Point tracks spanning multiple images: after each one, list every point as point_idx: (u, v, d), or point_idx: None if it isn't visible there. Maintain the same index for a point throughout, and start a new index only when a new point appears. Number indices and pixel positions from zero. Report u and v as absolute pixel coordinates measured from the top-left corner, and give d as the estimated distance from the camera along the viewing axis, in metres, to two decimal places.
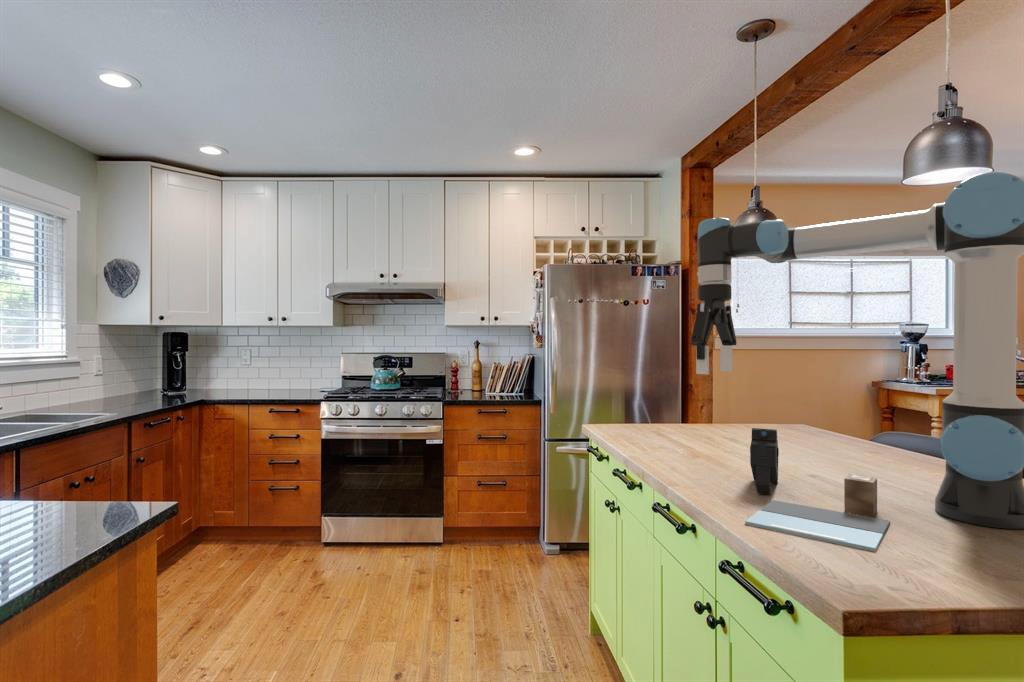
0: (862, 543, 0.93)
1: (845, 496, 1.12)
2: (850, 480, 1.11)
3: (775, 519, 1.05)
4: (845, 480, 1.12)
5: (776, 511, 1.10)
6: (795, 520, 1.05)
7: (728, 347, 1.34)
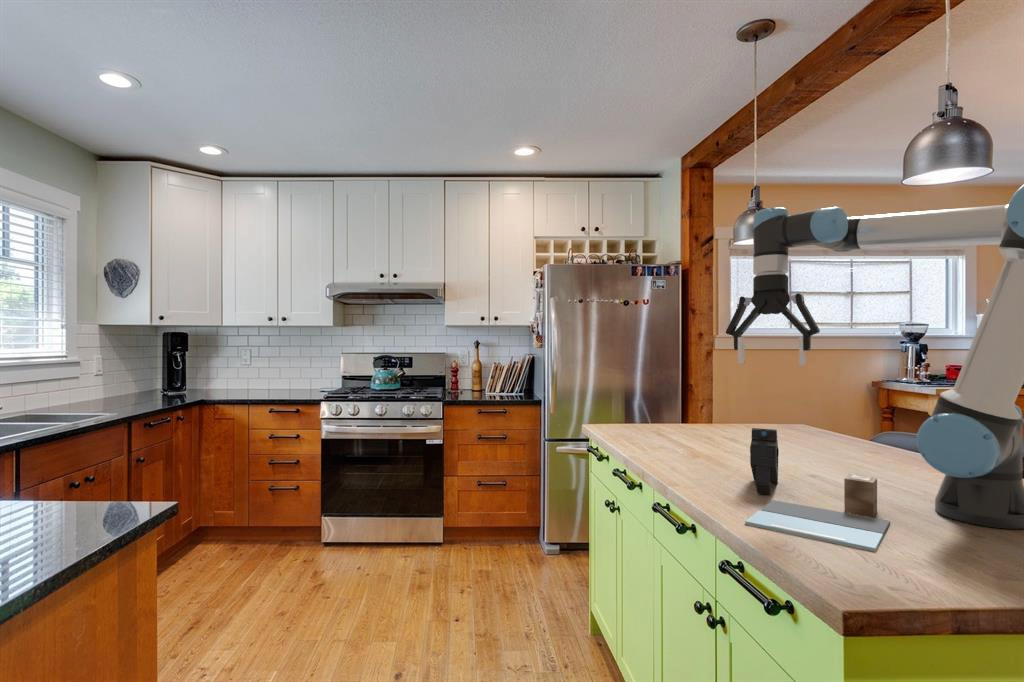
0: (862, 543, 0.93)
1: (845, 496, 1.12)
2: (850, 480, 1.11)
3: (775, 519, 1.05)
4: (845, 480, 1.12)
5: (776, 511, 1.10)
6: (795, 520, 1.05)
7: None
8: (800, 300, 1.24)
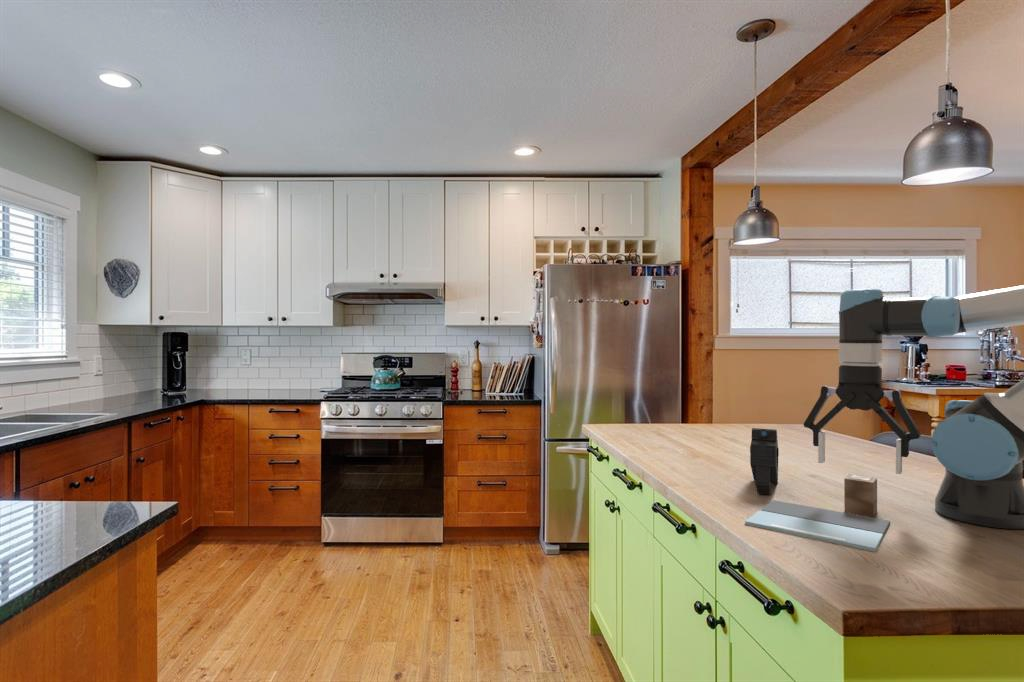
0: (862, 543, 0.93)
1: (845, 496, 1.12)
2: (850, 480, 1.11)
3: (775, 519, 1.05)
4: (845, 480, 1.12)
5: (776, 511, 1.10)
6: (795, 520, 1.05)
7: None
8: (898, 398, 1.07)
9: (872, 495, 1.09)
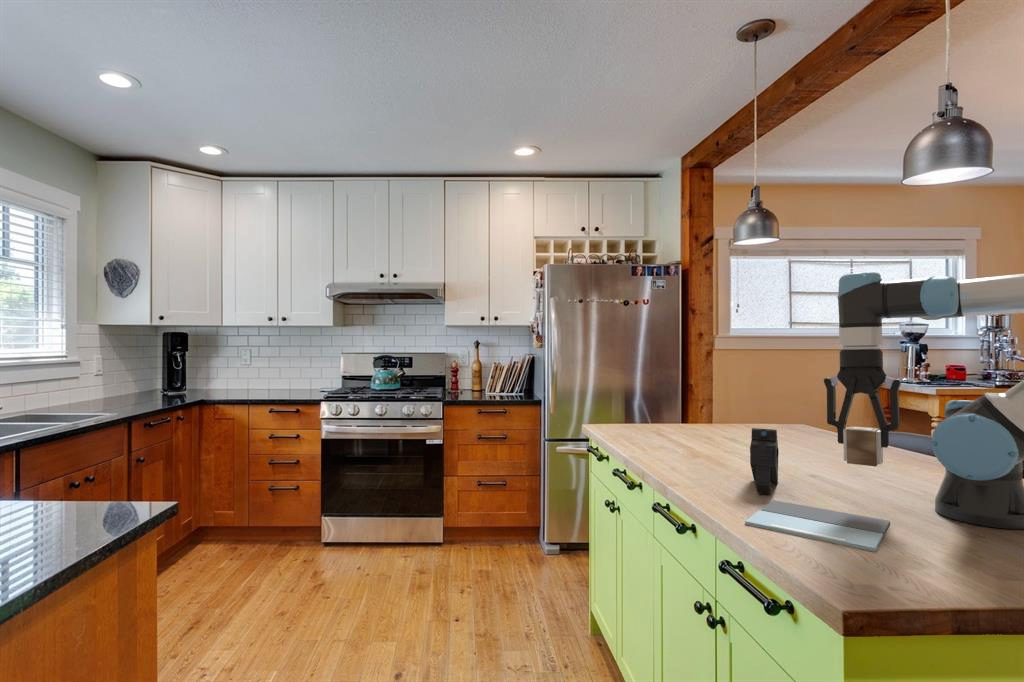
0: (862, 543, 0.93)
1: (847, 447, 1.11)
2: (852, 430, 1.11)
3: (775, 519, 1.05)
4: (847, 431, 1.11)
5: (776, 511, 1.10)
6: (795, 520, 1.05)
7: (876, 433, 1.10)
8: (896, 388, 1.07)
9: (874, 444, 1.08)
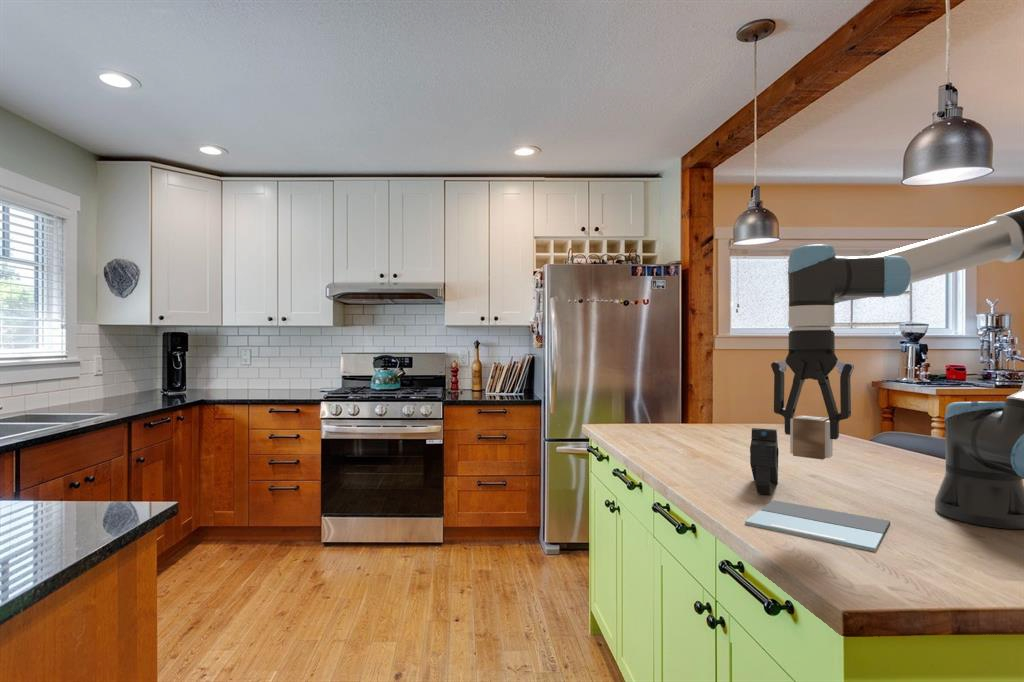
0: (862, 543, 0.93)
1: (794, 437, 1.01)
2: (799, 419, 1.00)
3: (775, 519, 1.05)
4: (794, 420, 1.01)
5: (776, 511, 1.10)
6: (795, 520, 1.05)
7: (825, 423, 0.99)
8: (847, 373, 0.96)
9: (822, 435, 0.98)
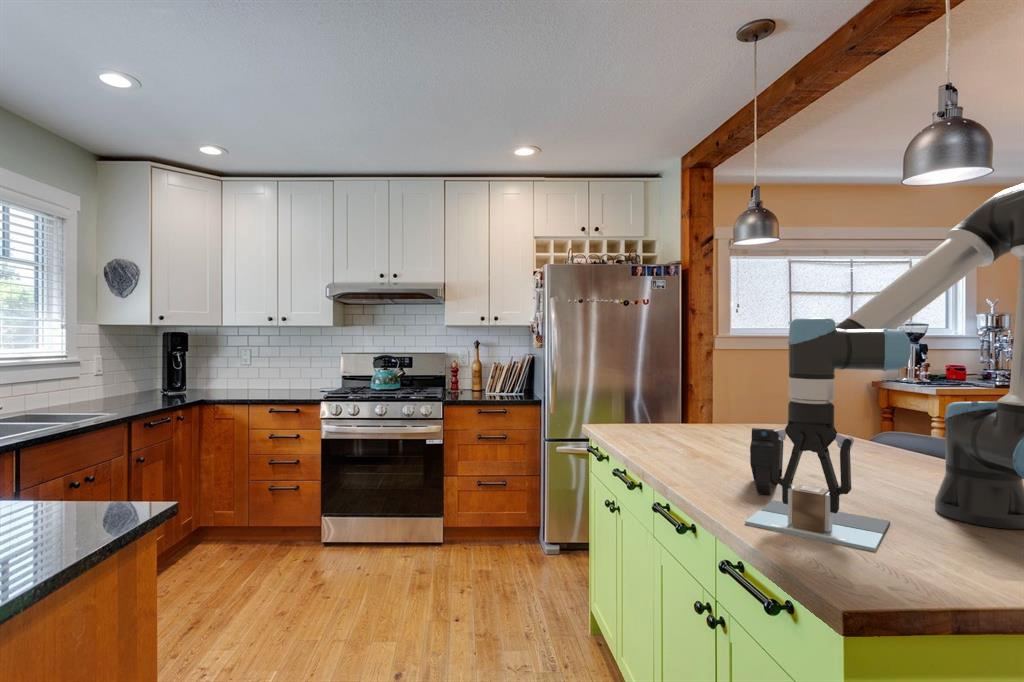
0: (862, 543, 0.93)
1: (793, 509, 1.01)
2: (799, 492, 1.00)
3: (775, 519, 1.05)
4: (793, 492, 1.01)
5: (776, 511, 1.10)
6: None
7: None
8: (847, 448, 0.96)
9: (822, 509, 0.98)
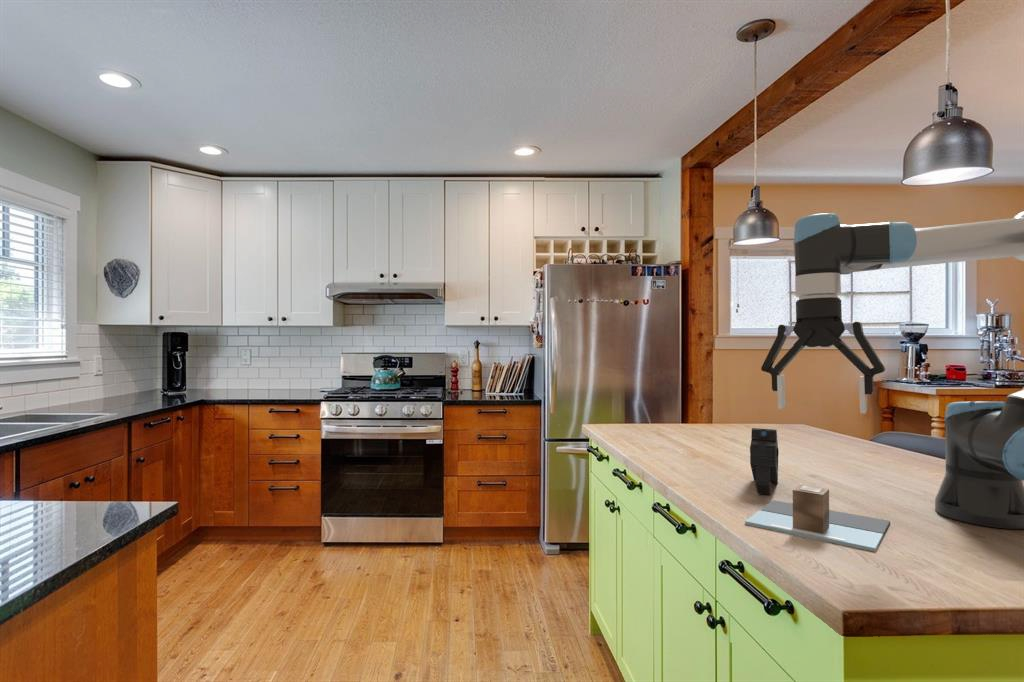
0: (862, 543, 0.93)
1: (793, 509, 1.01)
2: (799, 492, 1.00)
3: (775, 519, 1.05)
4: (793, 492, 1.01)
5: (776, 511, 1.10)
6: None
7: (859, 378, 0.98)
8: (859, 330, 0.97)
9: (822, 509, 0.98)
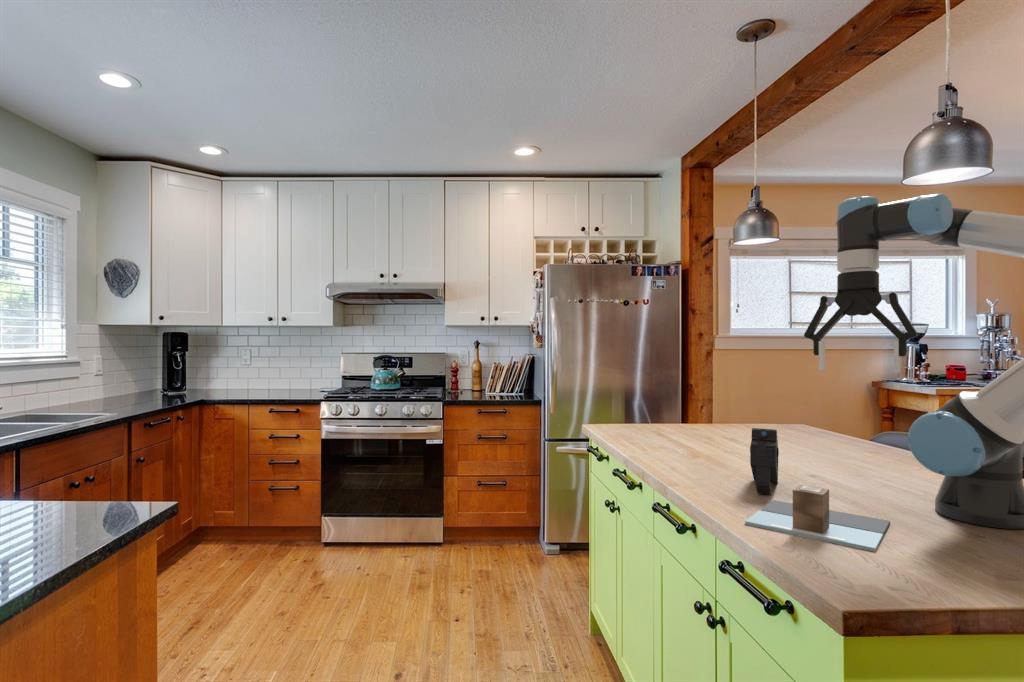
0: (862, 543, 0.93)
1: (793, 509, 1.01)
2: (799, 492, 1.00)
3: (775, 519, 1.05)
4: (793, 492, 1.01)
5: (776, 511, 1.10)
6: None
7: (894, 342, 1.11)
8: (895, 300, 1.10)
9: (822, 509, 0.98)
